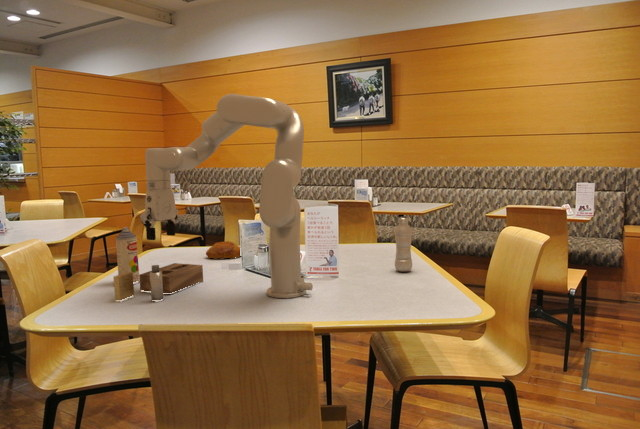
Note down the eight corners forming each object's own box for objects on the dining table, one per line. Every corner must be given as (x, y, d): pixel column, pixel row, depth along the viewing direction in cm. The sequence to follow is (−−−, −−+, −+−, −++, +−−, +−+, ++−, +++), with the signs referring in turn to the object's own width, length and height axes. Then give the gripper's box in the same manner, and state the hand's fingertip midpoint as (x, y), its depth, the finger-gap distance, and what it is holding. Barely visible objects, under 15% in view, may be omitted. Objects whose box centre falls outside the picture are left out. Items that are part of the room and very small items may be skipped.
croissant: (239, 264, 213) (240, 246, 211) (203, 260, 213) (204, 242, 211) (244, 257, 227) (246, 240, 226) (211, 253, 227) (212, 236, 226)
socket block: (203, 281, 176) (202, 265, 175) (170, 295, 159) (169, 277, 158) (175, 279, 180) (174, 263, 179) (140, 292, 163) (139, 274, 163)
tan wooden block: (134, 297, 158) (132, 272, 157) (120, 302, 153) (118, 277, 152) (129, 296, 159) (127, 272, 158) (115, 301, 153) (113, 276, 152)
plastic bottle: (392, 272, 181) (392, 218, 179) (397, 268, 187) (396, 216, 185) (410, 274, 179) (410, 218, 176) (414, 269, 185) (413, 216, 182)
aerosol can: (132, 285, 172) (127, 228, 170) (114, 285, 174) (110, 228, 172) (143, 280, 179) (139, 226, 177) (126, 280, 181) (122, 225, 178)
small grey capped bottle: (166, 299, 154) (163, 264, 153) (158, 302, 151) (156, 267, 150) (156, 298, 156) (154, 264, 154) (148, 301, 152) (146, 266, 151)
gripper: (149, 187, 153) (152, 242, 155) (185, 184, 169) (187, 234, 171) (130, 187, 156) (133, 241, 158) (167, 184, 172) (169, 233, 174)
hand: (161, 237), depth 165 cm, fingers open, 9 cm apart
